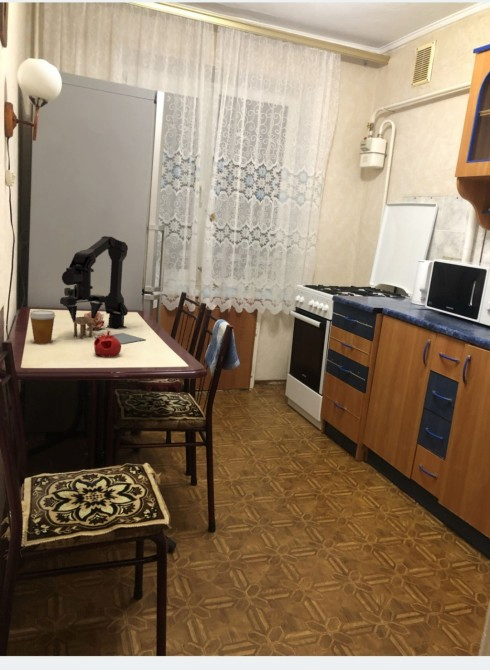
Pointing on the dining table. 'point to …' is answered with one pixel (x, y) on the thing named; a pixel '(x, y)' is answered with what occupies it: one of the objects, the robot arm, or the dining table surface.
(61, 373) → the dining table surface
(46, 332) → the disposable coffee cup
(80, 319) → the stool
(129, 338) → the mat
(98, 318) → the flower
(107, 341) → the pomegranate
